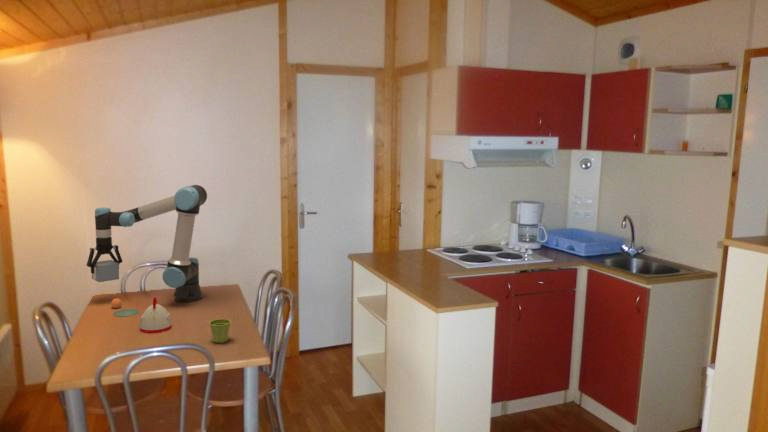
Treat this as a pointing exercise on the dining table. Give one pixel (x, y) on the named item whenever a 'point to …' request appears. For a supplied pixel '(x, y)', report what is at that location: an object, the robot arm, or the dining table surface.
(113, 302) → the ball
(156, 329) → the white and red dome
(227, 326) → the plant pot
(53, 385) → the dining table surface
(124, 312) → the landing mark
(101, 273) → the grey-blue rounded block
